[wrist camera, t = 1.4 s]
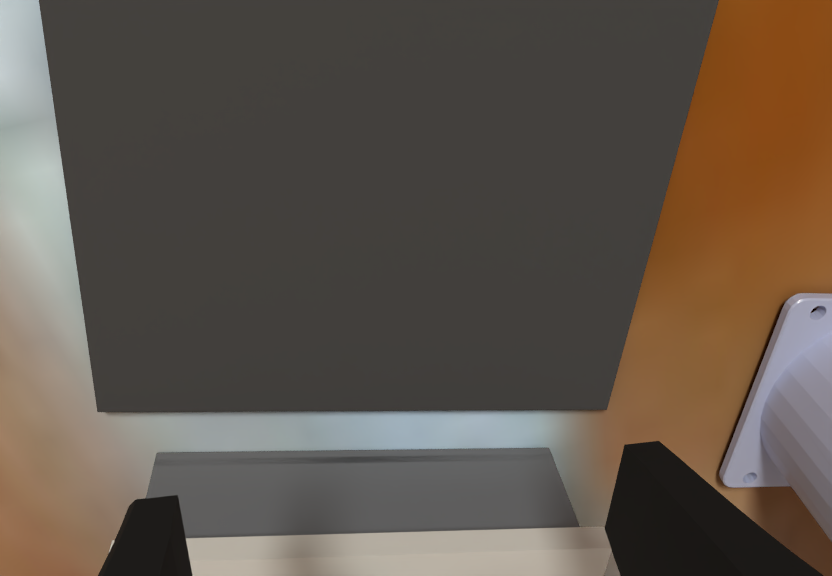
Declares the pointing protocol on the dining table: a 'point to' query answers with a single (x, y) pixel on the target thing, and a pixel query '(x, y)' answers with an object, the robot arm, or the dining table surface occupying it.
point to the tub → (362, 491)
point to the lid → (407, 553)
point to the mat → (365, 195)
